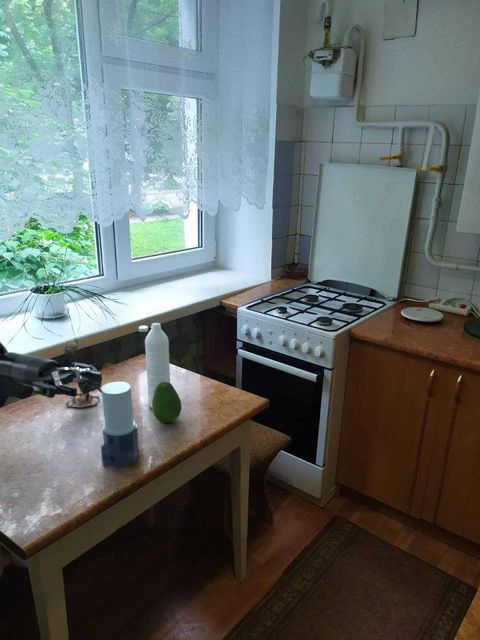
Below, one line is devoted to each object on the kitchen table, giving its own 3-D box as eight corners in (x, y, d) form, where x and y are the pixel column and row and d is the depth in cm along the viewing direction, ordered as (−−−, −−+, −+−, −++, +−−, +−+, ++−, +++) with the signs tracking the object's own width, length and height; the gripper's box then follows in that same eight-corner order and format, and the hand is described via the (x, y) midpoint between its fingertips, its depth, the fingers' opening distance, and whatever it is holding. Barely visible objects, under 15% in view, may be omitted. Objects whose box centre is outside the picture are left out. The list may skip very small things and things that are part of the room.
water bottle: (161, 396, 150) (157, 318, 140) (175, 403, 146) (172, 323, 137) (137, 406, 143) (132, 325, 134) (151, 414, 140) (147, 331, 130)
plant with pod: (98, 411, 140) (91, 346, 133) (61, 407, 142) (53, 342, 134) (111, 399, 147) (106, 336, 140) (76, 394, 149) (69, 332, 142)
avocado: (147, 421, 136) (145, 381, 132) (171, 411, 141) (169, 373, 137) (164, 432, 131) (162, 391, 126) (188, 422, 136) (187, 383, 132)
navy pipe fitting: (117, 446, 124) (115, 416, 121) (145, 453, 122) (143, 422, 119) (90, 470, 114) (86, 438, 111) (119, 478, 112) (116, 446, 109)
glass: (135, 434, 114) (132, 393, 110) (101, 436, 112) (97, 395, 109) (136, 418, 120) (133, 379, 117) (104, 420, 119) (100, 381, 115)
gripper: (9, 368, 114) (65, 382, 108) (55, 348, 126) (107, 359, 120) (14, 397, 116) (69, 412, 111) (59, 375, 129) (110, 387, 123)
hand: (89, 384), depth 116 cm, fingers open, 8 cm apart
